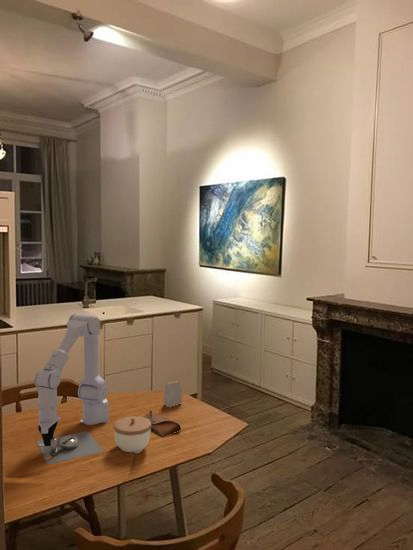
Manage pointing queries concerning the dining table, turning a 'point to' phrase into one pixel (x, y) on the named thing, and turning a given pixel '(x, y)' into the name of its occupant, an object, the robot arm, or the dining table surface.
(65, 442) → the grey piece
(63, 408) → the dining table surface
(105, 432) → the dining table surface
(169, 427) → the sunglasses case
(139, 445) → the lidded bowl
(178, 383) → the blue-gray rectangular block
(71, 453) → the grey square mat
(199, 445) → the dining table surface
